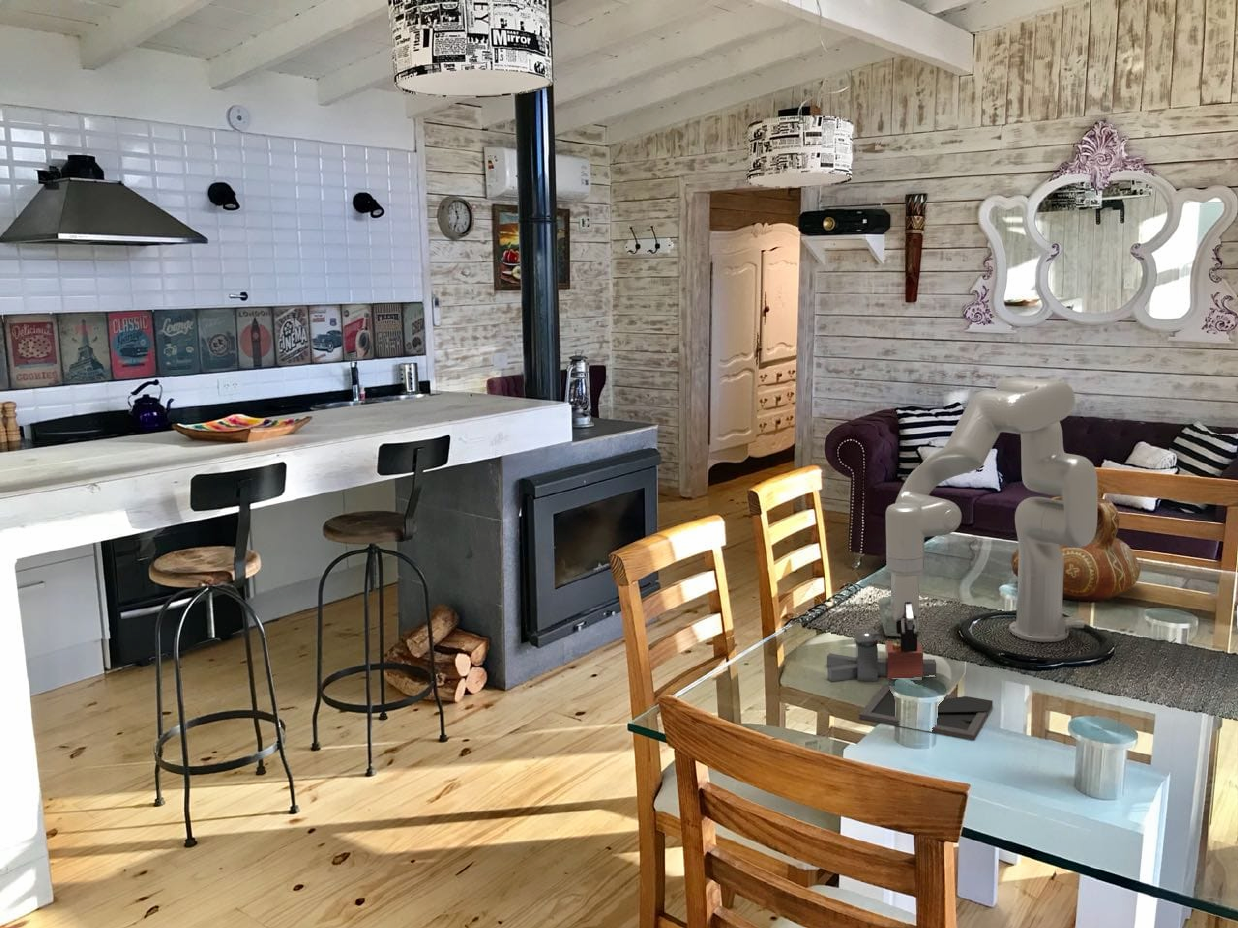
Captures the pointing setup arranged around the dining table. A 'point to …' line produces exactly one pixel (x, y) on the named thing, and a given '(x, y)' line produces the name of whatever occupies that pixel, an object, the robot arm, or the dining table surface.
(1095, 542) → the jug
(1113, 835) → the dining table surface
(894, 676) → the block
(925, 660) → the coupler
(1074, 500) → the robot arm
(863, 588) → the dining table surface
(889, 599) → the decorative stone
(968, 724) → the picture frame
